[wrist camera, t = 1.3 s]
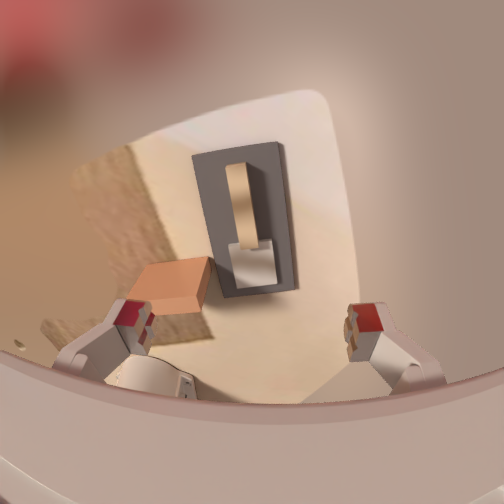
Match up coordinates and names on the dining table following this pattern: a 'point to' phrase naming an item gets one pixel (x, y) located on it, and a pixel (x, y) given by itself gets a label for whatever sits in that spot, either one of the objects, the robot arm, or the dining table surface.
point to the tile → (173, 286)
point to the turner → (248, 235)
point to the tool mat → (264, 204)
